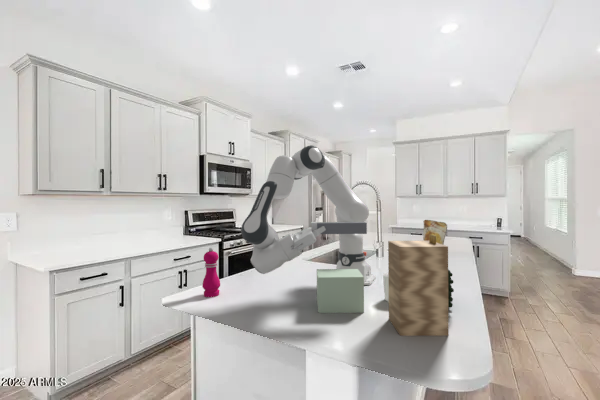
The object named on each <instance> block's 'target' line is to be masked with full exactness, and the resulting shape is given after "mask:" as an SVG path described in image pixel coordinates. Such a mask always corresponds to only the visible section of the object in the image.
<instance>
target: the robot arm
mask: <svg viewBox="0 0 600 400" xmlns="http://www.w3.org/2000/svg"><path fill="white" fill-rule="evenodd" d="M309 175H312V176H313V177H314V179H315V181H316V182H317V184H318V185H319V187H320V189H321V190H322V192H323V193H324V194H325V196H326V198H328V200H329V201H330V202H331V203H332V204H333V205H334V206H335V208H334V214H335V217H336V222H365V221H367V220H368V218H369V215H370V211H369V208H368V206H367V205H366V204H365V202H364V201H362V200H361V199H360V198H359V196H358V195H357V194H356V193H355V192H354V191H353V190H352V188H351V187H350V186H349V184H348V183H347V182H346V181H345V179H344V177H343V176H342V174H341V172H340V171H339V169H338V168H337V167H336V165H335V164H334V163H333V162H332V161H331V159H330V158H329V157H327V156H326V155H324V153H323V152H322V151H321V149H320V148H319V147H317V146H315V145H306V146H304V147H303V148H302V149H300V150H299V151H296V152H295V153H294V154H293V155H292V156H288V155H285V154H284V155H279V156H277V157H276V158H275V160H274V161H273V163H272V165H271V168H270V170H269V173H268V175H267V178H266V181H265V182H264V183H263V184H262V186H261V188H260V190H259V191H258V194H257V197H256V199H255V201H254V203H253V206H252V208H251V210H250V212H249V214H247V217H246V218H245V220H244V221H243V223H242V225H241V227H240V233H241V237H242V238H243V240H245V241H246V242H247V243H250V245H252V246H253V247H252V255H251V258H250V263H251V265H252V267H253V268H254V270H256V271H257V272H258V273H260V274H261V275H266V274H268V273H271V272H273V271H275V270H277V269H279V268H280V267H282V266H283V265H284V264H285V263H287V262H291V261H293V260H295V258H298V257H299V256H302V254H303V250H304V249H306V248H307V247H310V246H311V245H313V244H315V243H316V242H317V237H319V236H320V235H322V234H321V233H322V232H324V231H325V230H326V229H325V227H324V226H322V227H320V228H319V229H317V230H315V231H313V232H312V230H311V226H309V227H306V228H304V229H302V230H300V231H297V232H296V233H288V234H286V235H285V236H283V237H281V238H280V237H279V234H278V233H277V231H276V229H275V228H273V227H272V226H271V225H270V224H269V221H268V215H269V212H270V209H271V207H272V204H273V203H274V200H284V199H286V198H288V197H289V196H290V194H291V192H292V189H293V187H294V181H296V180H301V179H302V178H304V177H306V176H309ZM363 235H364V234H338V236H339V237H338V239H339V241H338V242H339V252H338V261H337V262H336V268H335V269H358V270H359V271H360V273H361V274H362V275H363V277H364V286H370V285H372V283H374V281H375V280H376V277H377V276H376V275H375V274H372V267H371V265H370V263H369V262H367V261H366V258H365V257H366V256H367V255H368V254H367V253H368V252H367V251H364V236H363Z"/></svg>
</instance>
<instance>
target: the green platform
mask: <svg viewBox="0 0 600 400" xmlns="http://www.w3.org/2000/svg"><path fill="white" fill-rule="evenodd" d="M316 302H317V303H316V304H317V311H318V314H344V313H345V314H349V313H352V314H354V313H356V314H359V313H360V314H361V313H365V285H364V277H363V275H362V274H361V273H360V271H359V270H358V269H336V268H334V269H333V268H326V269H325V268H320V269H318V268H317V269H316Z"/></svg>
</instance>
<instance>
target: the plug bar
mask: <svg viewBox="0 0 600 400" xmlns="http://www.w3.org/2000/svg"><path fill="white" fill-rule="evenodd" d="M367 224H368V223H367V222H365V221H364V222H337V221H327V222H325V221H323V222H322V221H321V222H318V221H311V223H310V227H311V230H312V232H313V231H315V230H317V229H319V228H320V227H322V226H324V227H325V229H326V230H325V231H324V232H322V233H321V234H320V235H339V234H362V235H367V233H368V230H367V229H368V225H367Z"/></svg>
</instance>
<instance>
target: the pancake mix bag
mask: <svg viewBox="0 0 600 400" xmlns="http://www.w3.org/2000/svg"><path fill="white" fill-rule="evenodd" d="M422 221H423V237H422V238H423V240H422V241H429V235H434V236H436V242H437V243H439V244H442V245H445V244H444V243H445V240H446V239H445V238H446V235H447V231H448V224H447V223H446V222H443V221H436V220H431V219H425V220H422Z"/></svg>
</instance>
